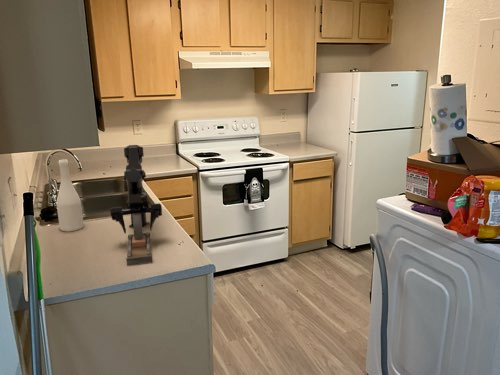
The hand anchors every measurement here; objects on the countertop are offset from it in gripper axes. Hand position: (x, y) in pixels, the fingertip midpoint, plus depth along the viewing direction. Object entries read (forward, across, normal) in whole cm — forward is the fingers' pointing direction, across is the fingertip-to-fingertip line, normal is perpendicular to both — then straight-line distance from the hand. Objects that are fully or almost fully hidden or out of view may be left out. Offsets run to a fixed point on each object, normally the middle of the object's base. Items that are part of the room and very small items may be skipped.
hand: (138, 231), depth 152 cm
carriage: (+3, 0, +5) cm, 5 cm away
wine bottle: (-17, -28, +27) cm, 42 cm away
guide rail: (+6, 0, +3) cm, 7 cm away
